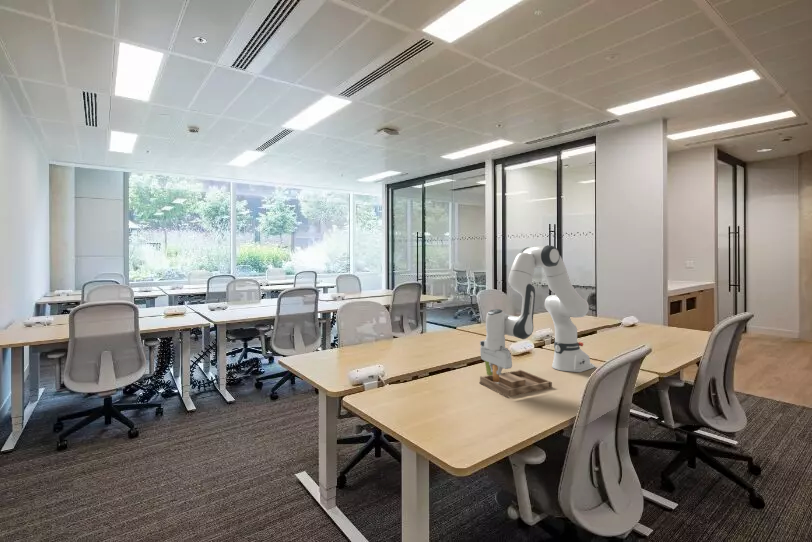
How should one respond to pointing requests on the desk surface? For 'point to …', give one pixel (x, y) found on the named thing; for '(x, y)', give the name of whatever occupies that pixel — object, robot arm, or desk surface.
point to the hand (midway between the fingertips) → (496, 373)
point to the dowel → (495, 376)
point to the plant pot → (488, 368)
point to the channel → (515, 383)
